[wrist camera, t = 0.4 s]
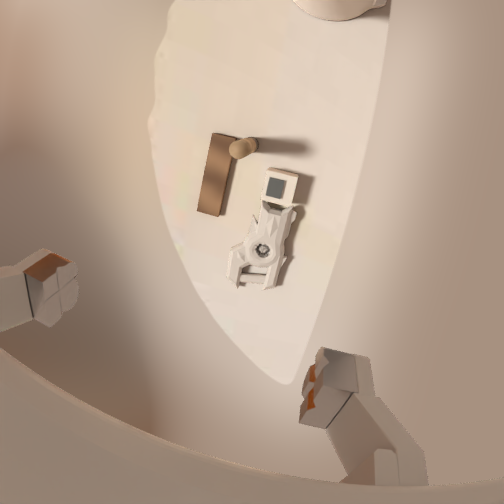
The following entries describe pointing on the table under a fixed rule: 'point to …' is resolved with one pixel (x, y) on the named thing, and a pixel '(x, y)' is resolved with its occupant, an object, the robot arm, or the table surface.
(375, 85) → the table surface
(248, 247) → the gun
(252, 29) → the table surface
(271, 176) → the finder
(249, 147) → the tan rounded rod
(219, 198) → the bar
